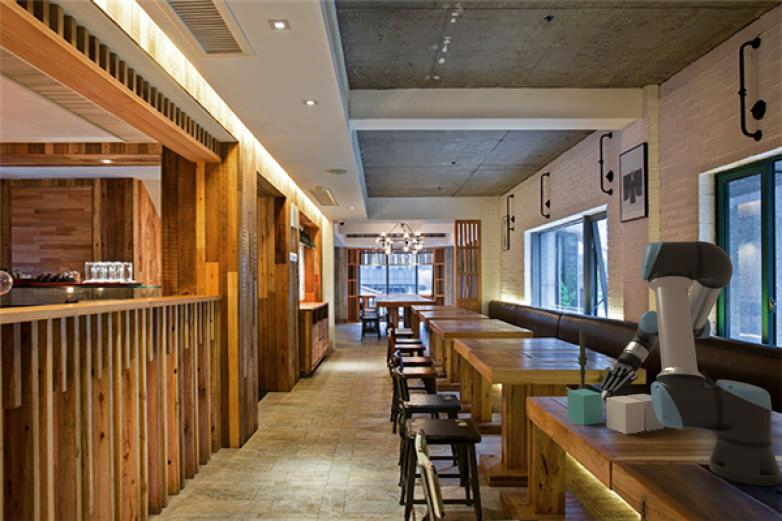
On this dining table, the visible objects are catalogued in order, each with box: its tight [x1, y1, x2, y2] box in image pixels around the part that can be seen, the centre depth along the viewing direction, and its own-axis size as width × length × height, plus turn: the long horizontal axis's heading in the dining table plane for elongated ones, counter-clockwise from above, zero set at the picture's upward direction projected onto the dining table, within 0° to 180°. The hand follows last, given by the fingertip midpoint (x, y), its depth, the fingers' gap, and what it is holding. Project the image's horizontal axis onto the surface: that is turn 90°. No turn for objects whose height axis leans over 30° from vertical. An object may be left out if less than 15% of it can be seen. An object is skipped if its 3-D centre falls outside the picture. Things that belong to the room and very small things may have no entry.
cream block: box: [606, 395, 645, 435], centre depth 167 cm, size 8×8×10 cm
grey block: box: [626, 393, 665, 432], centre depth 171 cm, size 8×8×10 cm
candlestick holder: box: [577, 328, 589, 390], centre depth 199 cm, size 9×9×30 cm
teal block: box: [566, 388, 603, 426], centre depth 178 cm, size 8×8×10 cm
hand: (597, 407), depth 180 cm, fingers closed
